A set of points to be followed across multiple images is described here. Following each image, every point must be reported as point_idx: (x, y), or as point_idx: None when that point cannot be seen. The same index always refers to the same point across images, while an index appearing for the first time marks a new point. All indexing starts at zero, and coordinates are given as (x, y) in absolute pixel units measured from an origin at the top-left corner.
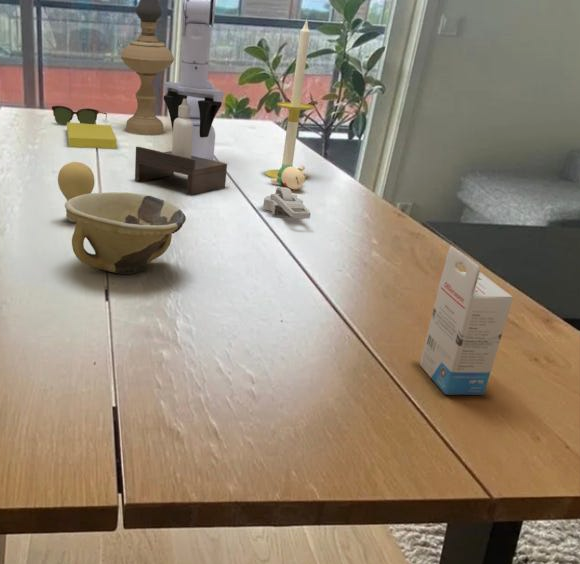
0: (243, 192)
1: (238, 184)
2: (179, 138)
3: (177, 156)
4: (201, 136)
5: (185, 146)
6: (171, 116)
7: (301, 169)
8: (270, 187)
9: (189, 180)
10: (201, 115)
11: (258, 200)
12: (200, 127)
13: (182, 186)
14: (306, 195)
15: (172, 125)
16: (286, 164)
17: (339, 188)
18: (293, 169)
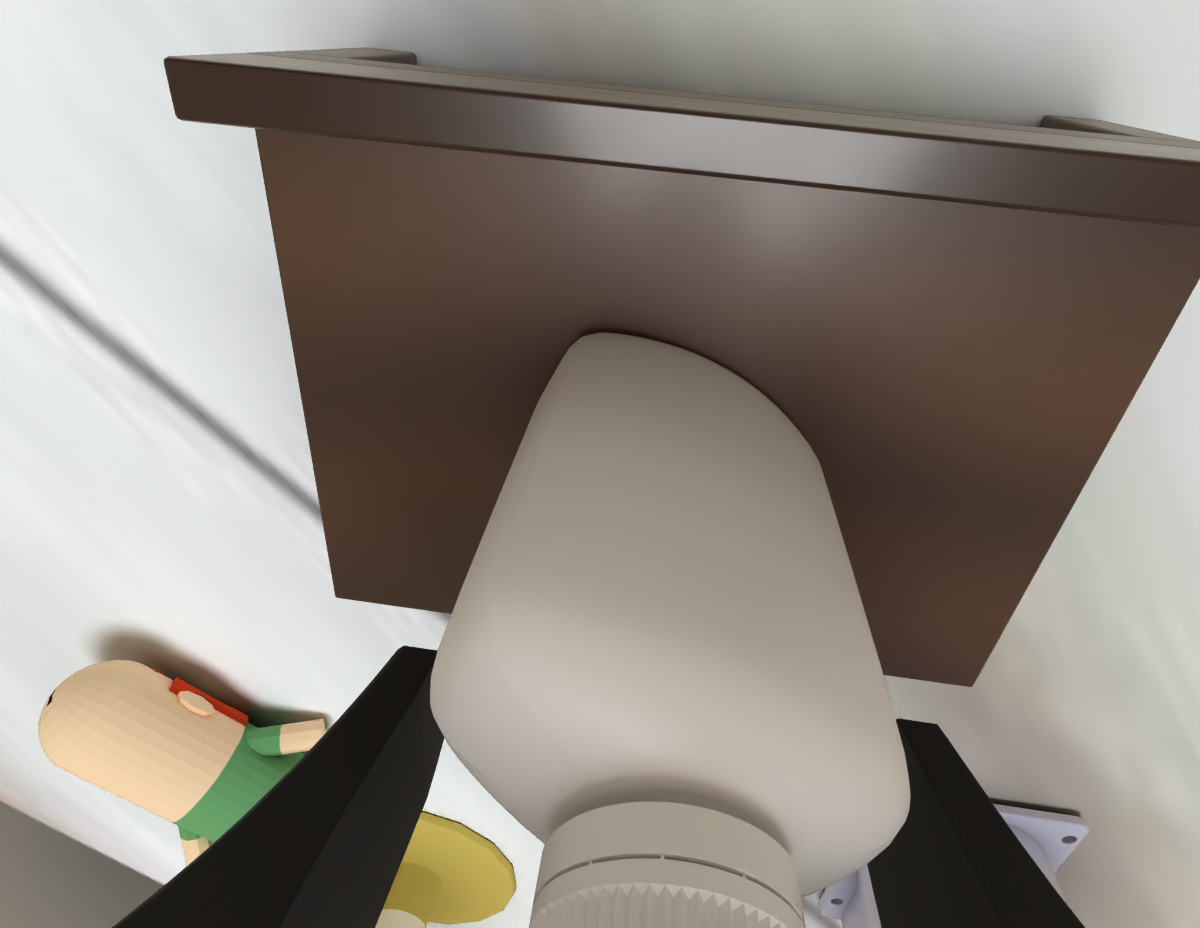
0: (251, 468)
1: (422, 613)
2: (634, 463)
3: (463, 86)
4: (408, 653)
5: (539, 421)
6: (1047, 924)
7: (180, 835)
8: (277, 663)
9: (336, 53)
10: (232, 921)
11: (31, 351)
12: (372, 741)
13: None
14: (58, 637)
15: (964, 784)
16: (385, 912)
17: (127, 813)
18: (86, 763)
